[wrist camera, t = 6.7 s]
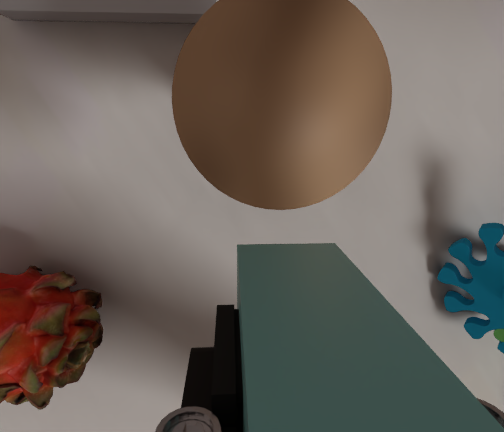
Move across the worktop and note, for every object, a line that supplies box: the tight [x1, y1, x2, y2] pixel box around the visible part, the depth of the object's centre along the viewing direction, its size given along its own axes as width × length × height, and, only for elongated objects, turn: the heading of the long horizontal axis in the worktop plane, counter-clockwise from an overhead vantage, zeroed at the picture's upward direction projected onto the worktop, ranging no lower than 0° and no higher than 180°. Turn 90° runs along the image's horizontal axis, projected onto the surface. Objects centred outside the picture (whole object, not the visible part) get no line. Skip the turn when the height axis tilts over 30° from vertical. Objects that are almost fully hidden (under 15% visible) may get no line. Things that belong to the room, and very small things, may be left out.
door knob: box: [172, 0, 392, 210], centre depth 19 cm, size 9×9×9 cm
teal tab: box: [237, 243, 504, 432], centre depth 9 cm, size 4×5×9 cm
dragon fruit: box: [0, 266, 103, 409], centre depth 23 cm, size 8×8×12 cm
